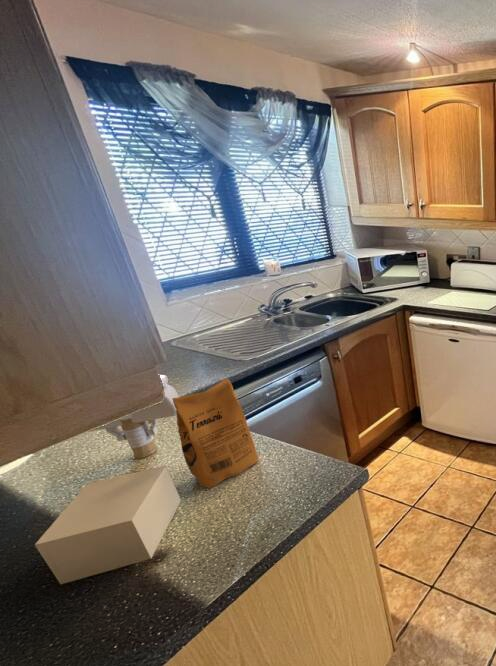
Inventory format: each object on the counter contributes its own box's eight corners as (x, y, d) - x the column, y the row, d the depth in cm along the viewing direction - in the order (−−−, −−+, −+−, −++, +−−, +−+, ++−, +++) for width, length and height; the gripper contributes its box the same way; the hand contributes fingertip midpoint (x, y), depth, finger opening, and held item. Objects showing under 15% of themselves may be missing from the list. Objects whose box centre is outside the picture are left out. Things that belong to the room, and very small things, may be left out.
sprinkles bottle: (145, 446, 100) (126, 403, 95) (162, 446, 100) (144, 402, 95) (129, 459, 96) (107, 413, 91) (147, 458, 96) (126, 413, 91)
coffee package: (189, 474, 90) (156, 394, 82) (248, 446, 99) (223, 372, 91) (203, 494, 85) (169, 410, 76) (264, 463, 94) (239, 384, 86)
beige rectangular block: (106, 519, 79) (86, 483, 75) (181, 500, 83) (166, 465, 79) (60, 584, 66) (34, 544, 62) (151, 558, 70) (131, 520, 67)
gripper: (49, 405, 84) (76, 455, 90) (164, 386, 91) (183, 433, 97) (67, 391, 90) (92, 439, 95) (174, 374, 97) (192, 420, 102)
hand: (138, 436), depth 96 cm, fingers open, 4 cm apart
